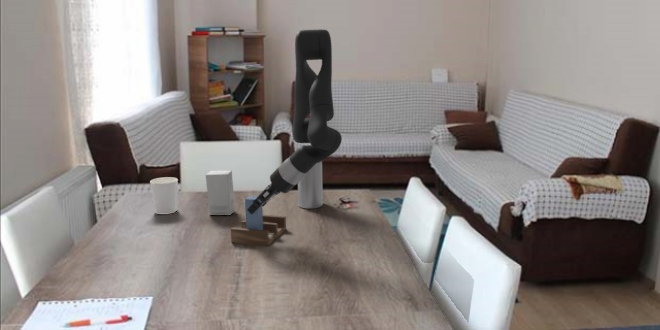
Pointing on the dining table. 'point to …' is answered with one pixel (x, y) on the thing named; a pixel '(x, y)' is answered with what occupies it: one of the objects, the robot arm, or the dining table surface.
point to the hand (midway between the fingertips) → (255, 208)
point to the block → (253, 215)
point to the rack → (260, 231)
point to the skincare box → (220, 192)
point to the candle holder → (165, 194)
